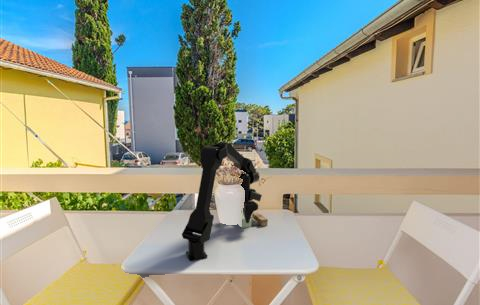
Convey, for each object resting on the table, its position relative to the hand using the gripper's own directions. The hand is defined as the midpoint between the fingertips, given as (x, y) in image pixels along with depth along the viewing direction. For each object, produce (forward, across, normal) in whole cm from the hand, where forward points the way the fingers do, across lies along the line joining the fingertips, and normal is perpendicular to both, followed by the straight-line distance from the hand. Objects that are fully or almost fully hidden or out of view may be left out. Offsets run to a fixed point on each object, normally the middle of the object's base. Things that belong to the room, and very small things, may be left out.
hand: (243, 219), depth 131 cm
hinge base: (+3, 0, -7) cm, 7 cm away
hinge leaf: (+3, 0, -2) cm, 3 cm away
